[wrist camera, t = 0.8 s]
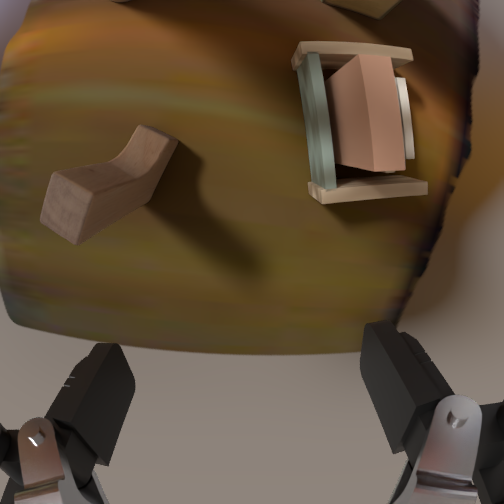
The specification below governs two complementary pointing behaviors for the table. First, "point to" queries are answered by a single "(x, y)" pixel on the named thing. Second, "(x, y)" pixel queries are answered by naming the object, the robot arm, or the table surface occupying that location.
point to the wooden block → (106, 187)
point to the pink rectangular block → (365, 115)
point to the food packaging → (366, 6)
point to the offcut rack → (319, 132)
